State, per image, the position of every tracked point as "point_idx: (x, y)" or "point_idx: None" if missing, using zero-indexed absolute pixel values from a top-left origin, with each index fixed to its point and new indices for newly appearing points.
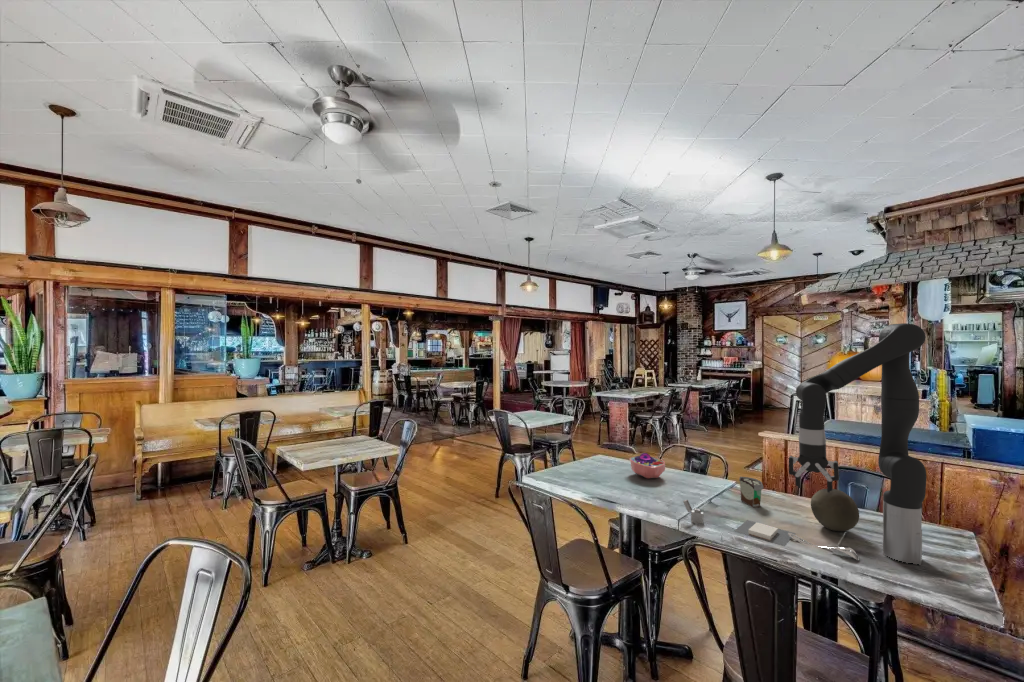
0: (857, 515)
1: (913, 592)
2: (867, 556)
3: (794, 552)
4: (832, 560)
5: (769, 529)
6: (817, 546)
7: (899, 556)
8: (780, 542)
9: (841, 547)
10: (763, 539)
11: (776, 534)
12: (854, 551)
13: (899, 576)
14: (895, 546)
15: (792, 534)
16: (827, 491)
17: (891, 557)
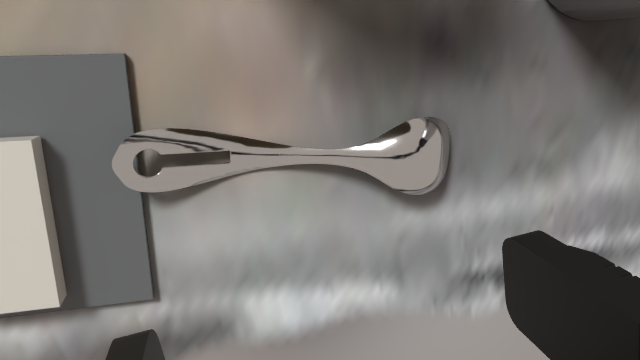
0: None
1: None
2: (474, 66)
3: (210, 307)
4: (361, 250)
5: (1, 208)
6: (279, 164)
7: (606, 18)
8: (118, 271)
9: (398, 170)
10: (32, 310)
11: (48, 172)
12: (445, 143)
13: (576, 186)
14: (630, 12)
15: (135, 150)
16: (518, 328)
17: (565, 10)
